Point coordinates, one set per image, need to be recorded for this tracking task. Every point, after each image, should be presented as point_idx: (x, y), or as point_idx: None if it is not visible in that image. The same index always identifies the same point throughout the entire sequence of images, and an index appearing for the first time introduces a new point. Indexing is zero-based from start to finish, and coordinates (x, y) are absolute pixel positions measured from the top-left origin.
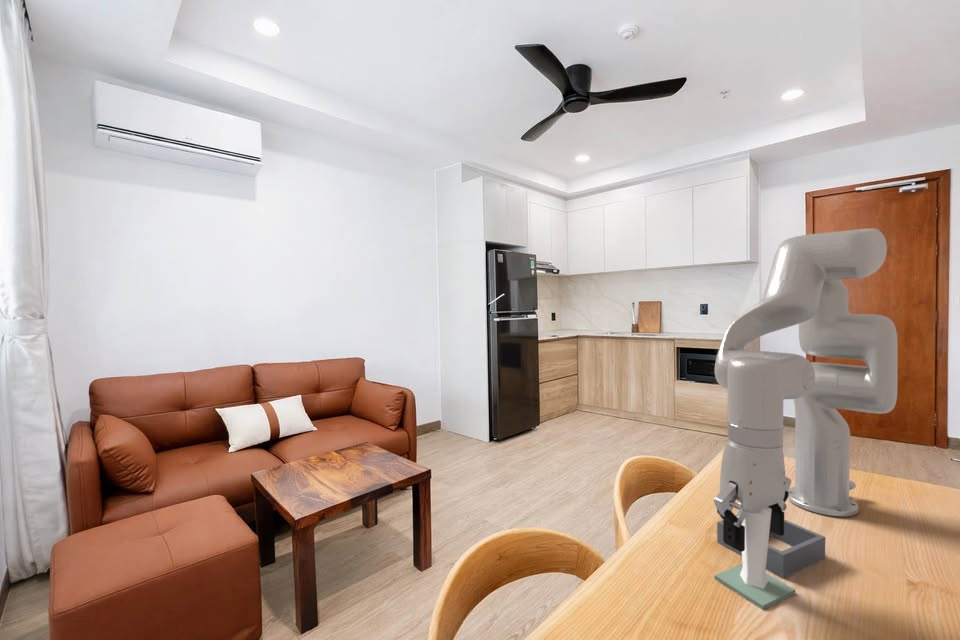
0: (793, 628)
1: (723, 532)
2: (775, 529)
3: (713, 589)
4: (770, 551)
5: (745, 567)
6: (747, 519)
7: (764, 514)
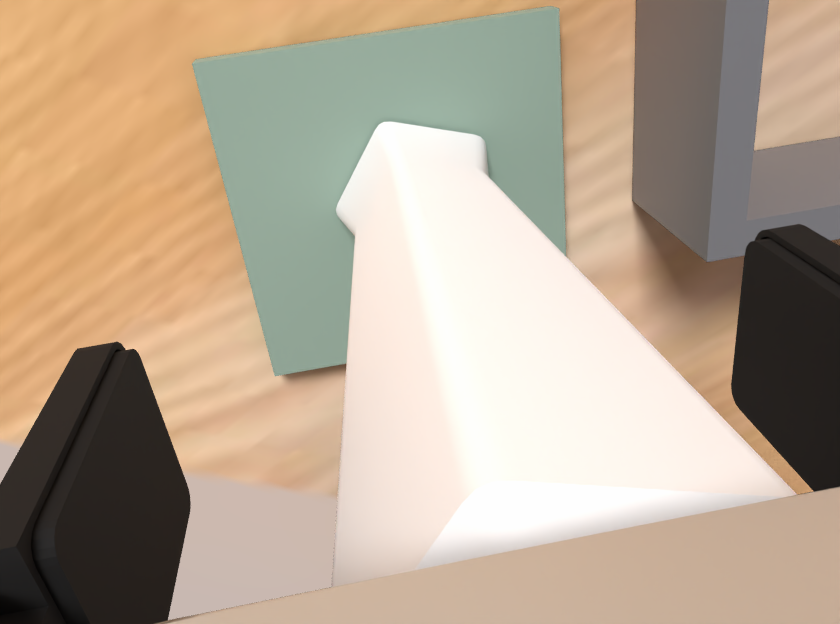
0: (312, 478)
1: (42, 411)
2: (757, 380)
3: (107, 151)
4: (703, 159)
5: (364, 223)
6: None
7: None
